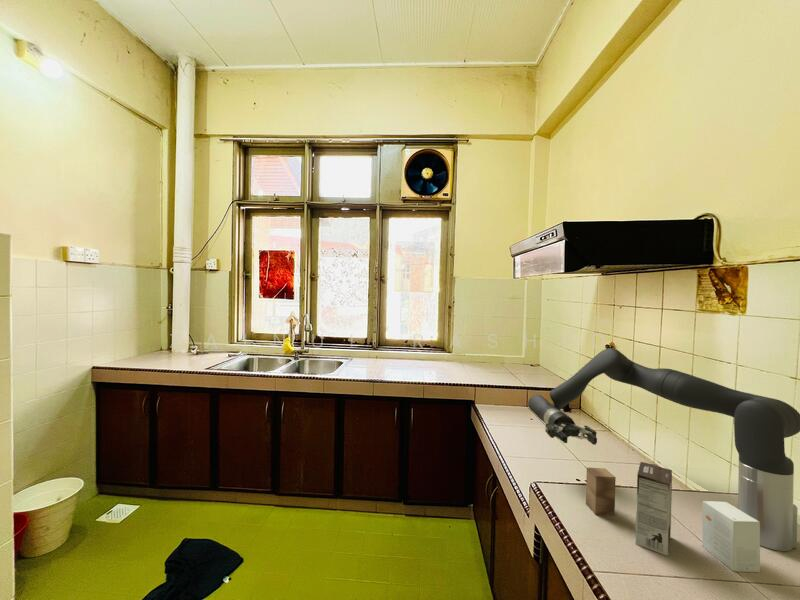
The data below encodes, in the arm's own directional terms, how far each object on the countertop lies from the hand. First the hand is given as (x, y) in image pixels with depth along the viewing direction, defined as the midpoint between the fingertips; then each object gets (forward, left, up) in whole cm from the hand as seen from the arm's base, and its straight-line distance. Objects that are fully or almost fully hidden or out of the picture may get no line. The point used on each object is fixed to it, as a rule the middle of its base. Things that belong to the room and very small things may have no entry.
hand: (580, 440), depth 107 cm
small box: (-19, +28, -14) cm, 37 cm away
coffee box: (-6, +23, -14) cm, 28 cm away
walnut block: (0, +11, -14) cm, 18 cm away
